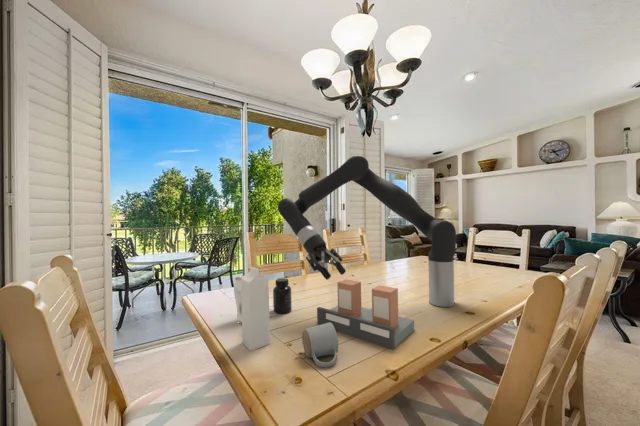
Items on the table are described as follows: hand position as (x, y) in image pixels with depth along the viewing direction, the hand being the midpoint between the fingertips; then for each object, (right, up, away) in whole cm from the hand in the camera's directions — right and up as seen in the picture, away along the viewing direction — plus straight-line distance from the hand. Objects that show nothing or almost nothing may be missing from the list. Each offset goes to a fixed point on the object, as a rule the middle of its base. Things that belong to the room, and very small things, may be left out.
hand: (336, 275), depth 94 cm
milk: (-24, -16, -15) cm, 33 cm away
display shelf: (+9, -15, -5) cm, 18 cm away
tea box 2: (+14, -12, -11) cm, 22 cm away
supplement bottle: (-20, -16, +10) cm, 28 cm away
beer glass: (-32, -16, +2) cm, 36 cm away
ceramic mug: (-5, -16, -23) cm, 28 cm away
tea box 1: (+4, -12, -3) cm, 13 cm away
